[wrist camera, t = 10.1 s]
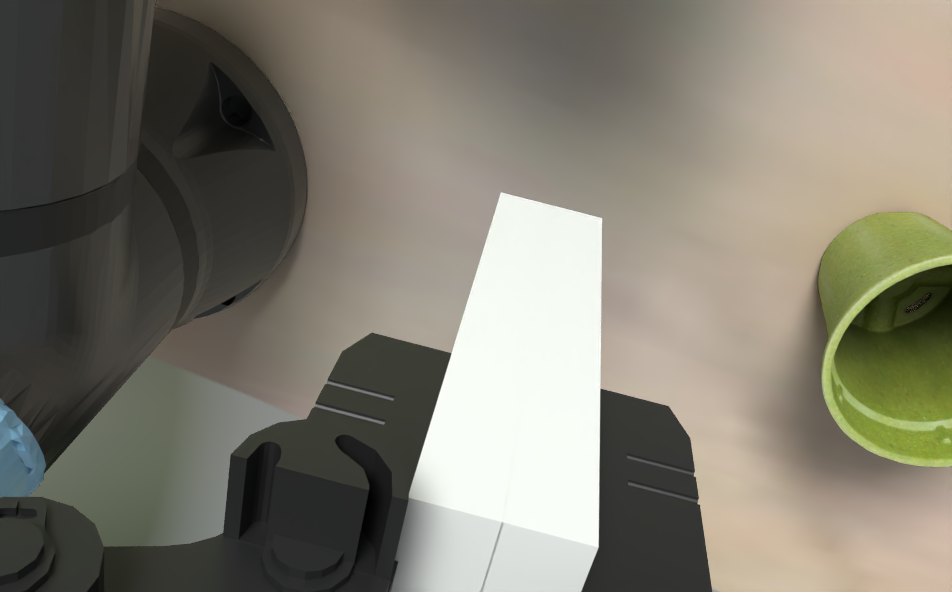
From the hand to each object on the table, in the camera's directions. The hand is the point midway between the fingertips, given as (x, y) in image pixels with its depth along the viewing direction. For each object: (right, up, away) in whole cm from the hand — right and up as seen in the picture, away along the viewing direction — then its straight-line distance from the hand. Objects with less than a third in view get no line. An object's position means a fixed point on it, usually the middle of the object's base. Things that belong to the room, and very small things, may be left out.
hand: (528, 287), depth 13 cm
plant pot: (+18, +1, +27) cm, 33 cm away
